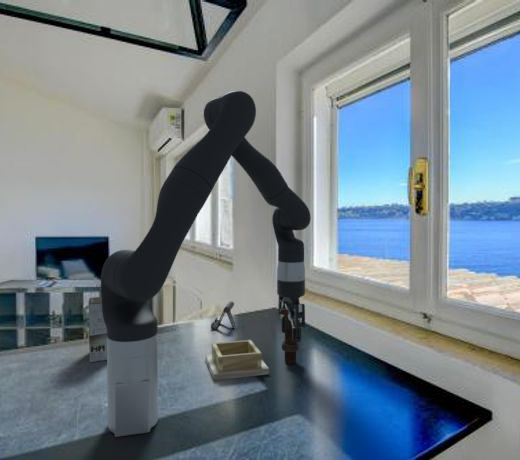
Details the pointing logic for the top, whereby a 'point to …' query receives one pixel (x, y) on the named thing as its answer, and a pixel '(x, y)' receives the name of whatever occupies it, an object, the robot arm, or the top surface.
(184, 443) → the top surface
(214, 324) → the portable electronic device stand
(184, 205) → the robot arm
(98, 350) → the coffee box
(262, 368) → the board
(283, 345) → the bolt
